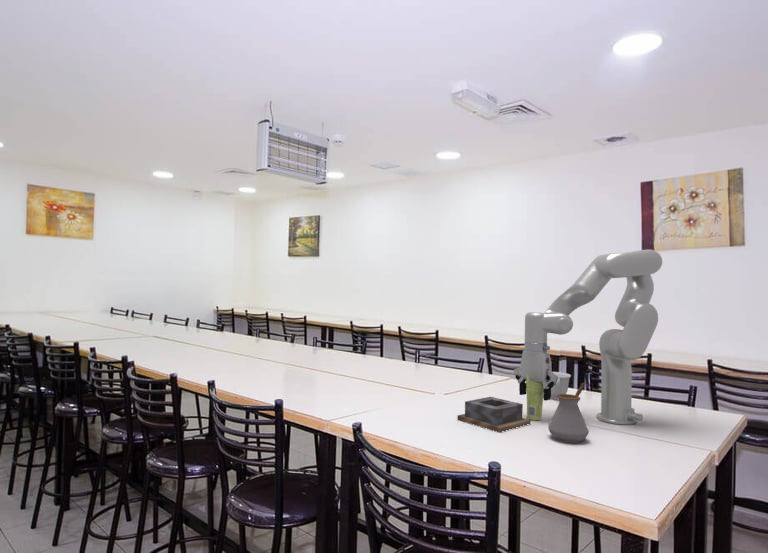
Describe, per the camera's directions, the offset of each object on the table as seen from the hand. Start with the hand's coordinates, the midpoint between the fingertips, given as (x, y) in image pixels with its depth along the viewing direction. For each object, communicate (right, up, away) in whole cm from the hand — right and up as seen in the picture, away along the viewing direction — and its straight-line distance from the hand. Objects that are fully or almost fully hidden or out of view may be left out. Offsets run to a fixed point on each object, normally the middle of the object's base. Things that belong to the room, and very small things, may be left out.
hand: (534, 397), depth 169 cm
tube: (0, -8, 0) cm, 8 cm away
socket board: (-15, -7, -5) cm, 18 cm away
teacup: (+19, -9, +32) cm, 39 cm away
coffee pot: (+7, -8, -18) cm, 21 cm away
